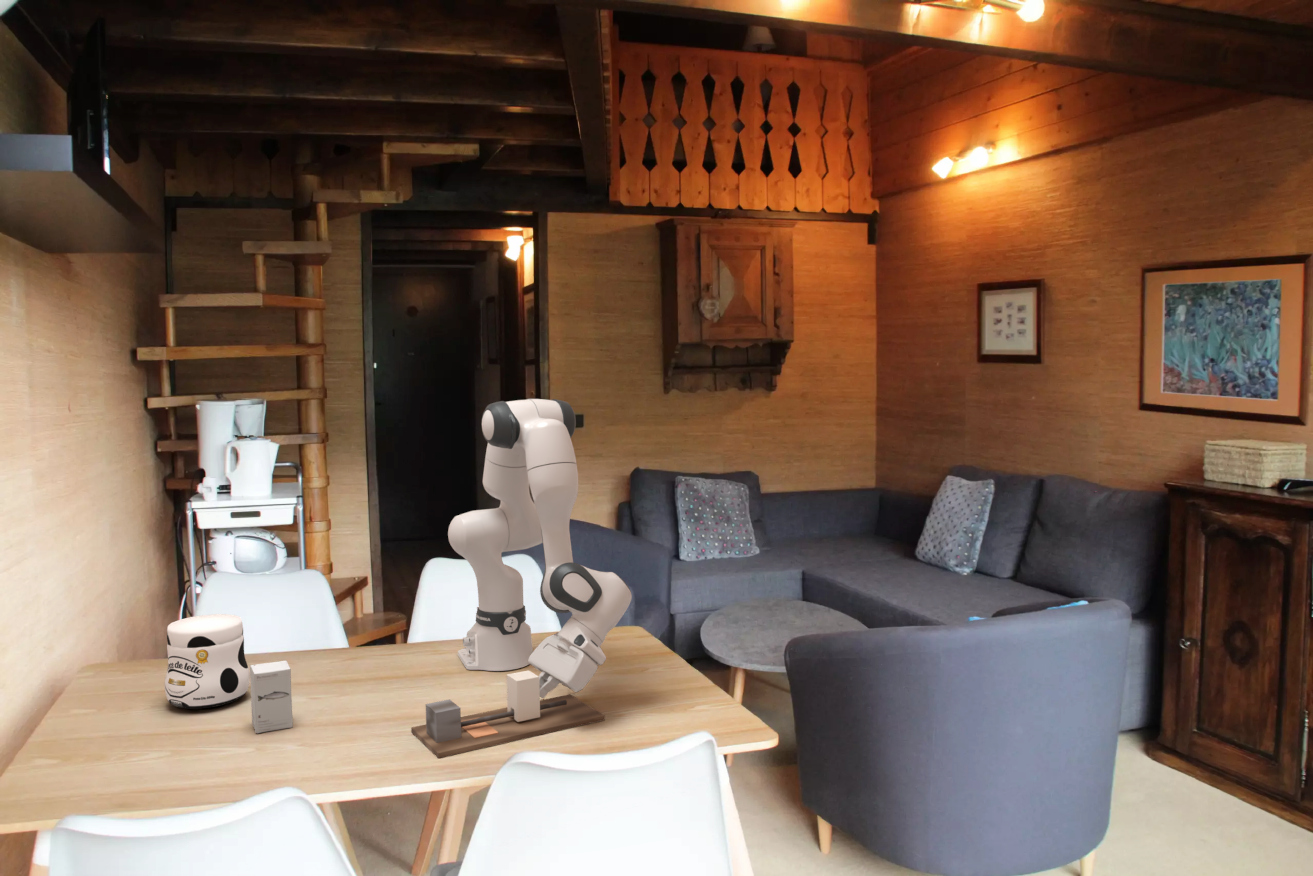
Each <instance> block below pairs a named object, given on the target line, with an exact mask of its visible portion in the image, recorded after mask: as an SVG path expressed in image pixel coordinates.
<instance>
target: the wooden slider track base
mask: <svg viewBox="0 0 1313 876" xmlns="http://www.w3.org/2000/svg"><path fill="white" fill-rule="evenodd" d="M461 714H462V713H461V707H460V706H459V705H457V703H455V702H453V701H452V700H451V699H446V700H445V699H444V700H441V701H439V700H438V701H434V702H429V703H426V704H425V724H420V725H417V726H411V727H410V731H411V733H412V734H413V736H415V737H416V739H418V740H419V741H420V742H421V743H422V745H424V746H425V747H426V748H427V749H428V750H429V751H430V752H431V753H432V754H433V755H434V754H435V755H436V756H435V755H434V756H435V757H436V758H437V759H441V758H445V757H449V756H454V755H458V754H462V753H467V752H472V751H476V750H480V749H485V748H489V747H492V746H493V747H494V746H498V745H502V744H506V743H510V742H515V741H519V740H524V739H528V738H532V737H537V736H541V735H546V734H549V733H553V732H559V731H563V730H567V729H571V728H575V727H580V726H584V725H589V724H593V723H597V722H598V723H599V722H601V721H605V718H606V717H605V716H606V715H605V714H603V713H601V712H600V711H599V710H596V708H593V707H591V706H590V705H588V704H587V703H585V702H583V701H582V700H581V699H579V698H577V697H575V696H573V694H570V693H569V694H564V695H560V696H555V697H549V698H543V699H540V717H538V718H534V719H529V720H524V721H520V722H517V721H516V720H514V717H510V716H514V711H510V712H508V710H507V706H506V707H502V708H497V709H493V710H488V711H483V712H479V713H474V714H469V715H464V716H461Z"/></svg>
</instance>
